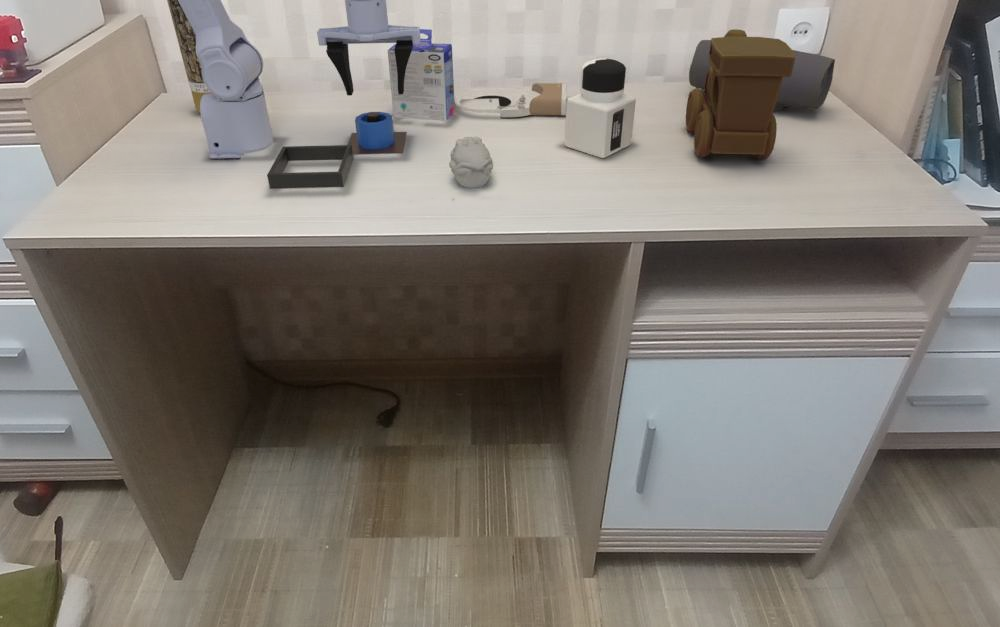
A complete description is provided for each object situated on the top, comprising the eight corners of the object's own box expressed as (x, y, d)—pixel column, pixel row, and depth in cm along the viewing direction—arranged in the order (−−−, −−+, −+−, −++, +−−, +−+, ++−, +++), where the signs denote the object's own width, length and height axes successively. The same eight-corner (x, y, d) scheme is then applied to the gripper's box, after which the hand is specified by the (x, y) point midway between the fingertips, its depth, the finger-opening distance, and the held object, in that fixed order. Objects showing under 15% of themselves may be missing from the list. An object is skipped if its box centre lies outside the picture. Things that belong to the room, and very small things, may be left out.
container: (632, 145, 112) (640, 61, 104) (603, 159, 107) (610, 73, 100) (592, 133, 116) (598, 51, 108) (563, 146, 111) (567, 62, 104)
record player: (566, 101, 119) (449, 100, 121) (565, 119, 121) (450, 118, 123) (566, 80, 129) (458, 79, 130) (565, 97, 131) (459, 96, 132)
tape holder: (344, 160, 108) (339, 125, 104) (352, 138, 115) (347, 104, 112) (403, 159, 108) (400, 123, 105) (407, 137, 115) (404, 103, 112)
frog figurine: (484, 174, 103) (483, 128, 99) (501, 193, 98) (500, 145, 94) (444, 180, 101) (441, 134, 97) (459, 200, 96) (457, 152, 92)
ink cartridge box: (456, 115, 124) (452, 28, 115) (448, 126, 119) (444, 37, 111) (403, 111, 125) (395, 26, 117) (393, 122, 121) (384, 34, 112)
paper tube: (244, 107, 128) (210, -46, 113) (213, 118, 123) (174, -39, 109) (219, 101, 131) (183, -49, 116) (188, 111, 126) (146, -43, 112)
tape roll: (356, 149, 108) (353, 124, 106) (360, 136, 113) (357, 112, 111) (392, 149, 109) (390, 123, 106) (395, 135, 113) (393, 111, 111)
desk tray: (271, 194, 98) (266, 174, 96) (286, 165, 106) (282, 146, 105) (344, 193, 98) (341, 173, 97) (354, 163, 107) (351, 144, 105)
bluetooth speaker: (683, 99, 129) (691, 42, 123) (702, 85, 135) (711, 31, 130) (811, 123, 119) (826, 63, 113) (825, 107, 125) (840, 49, 119)
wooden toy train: (776, 172, 103) (803, 55, 93) (696, 170, 104) (715, 54, 94) (748, 123, 119) (769, 19, 109) (680, 121, 120) (695, 18, 110)
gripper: (307, 3, 95) (323, 102, 103) (415, 1, 95) (422, 100, 103) (316, -8, 101) (330, 87, 109) (418, -10, 101) (424, 85, 109)
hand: (375, 92), depth 106 cm, fingers open, 7 cm apart
